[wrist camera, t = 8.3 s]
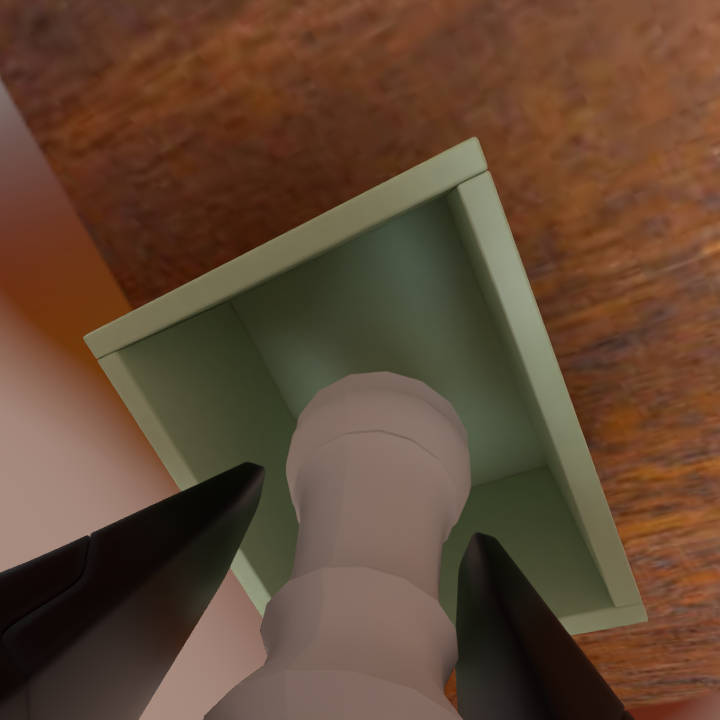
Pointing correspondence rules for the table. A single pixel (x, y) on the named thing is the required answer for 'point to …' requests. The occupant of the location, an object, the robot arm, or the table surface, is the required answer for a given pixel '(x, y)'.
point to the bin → (378, 354)
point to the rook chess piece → (364, 560)
